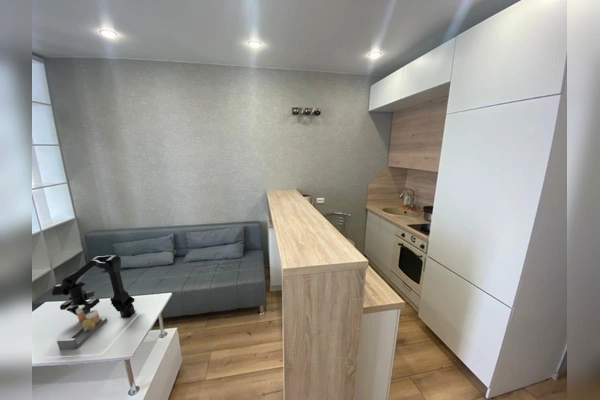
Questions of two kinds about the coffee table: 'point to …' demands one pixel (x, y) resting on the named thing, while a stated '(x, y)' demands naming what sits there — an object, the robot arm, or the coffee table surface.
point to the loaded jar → (93, 317)
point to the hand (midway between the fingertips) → (83, 315)
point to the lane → (78, 337)
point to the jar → (81, 313)
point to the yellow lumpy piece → (88, 325)
